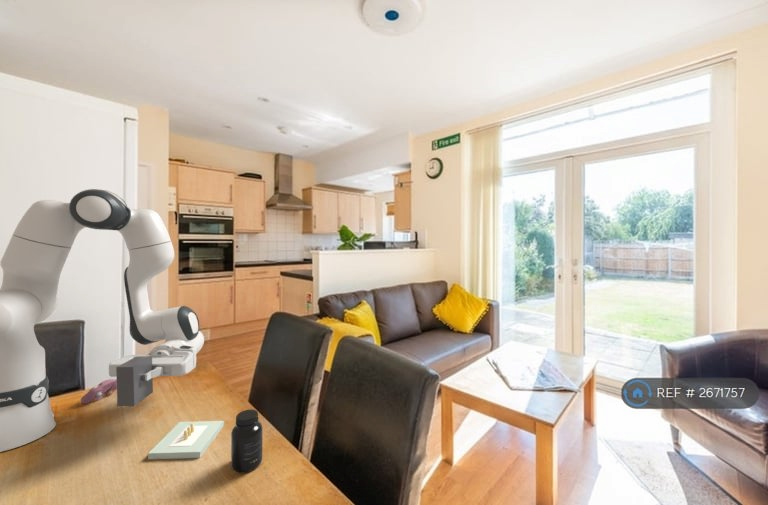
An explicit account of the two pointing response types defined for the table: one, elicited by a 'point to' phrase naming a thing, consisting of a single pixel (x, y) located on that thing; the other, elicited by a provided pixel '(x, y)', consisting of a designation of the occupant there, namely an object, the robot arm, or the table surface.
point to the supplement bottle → (246, 442)
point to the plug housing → (133, 381)
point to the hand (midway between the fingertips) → (132, 378)
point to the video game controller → (100, 391)
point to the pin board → (187, 440)
